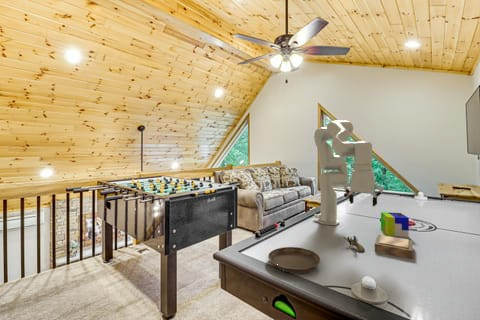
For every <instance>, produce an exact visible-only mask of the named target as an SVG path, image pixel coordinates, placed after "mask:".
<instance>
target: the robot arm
mask: <svg viewBox="0 0 480 320" xmlns="http://www.w3.org/2000/svg"><path fill="white" fill-rule="evenodd" d="M353 131H354V126H353V123H352V122H351V121H348V120H332V121H329V122H328V123H327V124H326V126H325V127H318V128H316V130H315V131H314V133H313V134H314V136H313V139H314V143H315V146H316V148H317V151H318V152H317V154H318V161H319V166H320V169H321V170H322V171H325V172H323V173H320V174H319V177H318V182H319V189H320V214H318V213H317V214H316V213H314V214H313V216H314V218H315V219H317V222H318V224H320V225H325V226H337V225H339V224H340V220H339V219H337V216H338V213H337V210H338V209H337V208H338V207H337V205H338V196H337V193H336V191H335V189H334V188H343V189H344V192H346V194H347V195H348V201H349V203H350V204H351V205H352V204H354V198H355V197H354V193H359V194H371V196H373V197H372V207H376V205H378V197H379V196H380V195H382V193H383V191H384V190H385V188H384V187H382V186H380V185H378V184H376V178H375V171H373V143H371V141H349V140H350V139H351V135H352V134H353ZM330 141H331V145H330V144H329V143H328V142H330ZM333 152H334V153H335V154H336V155H334V154H333ZM346 158H353V165H350V168H351V169H353V170H352V171H351V174H350V178H349V171H348V170H349V169H348V166H347V163H348V162H347V160H346ZM328 171H329V172H328ZM335 171H336V172H335ZM349 179H350V180H349ZM348 187H349V188H348ZM376 189H378V192H376Z"/></svg>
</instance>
